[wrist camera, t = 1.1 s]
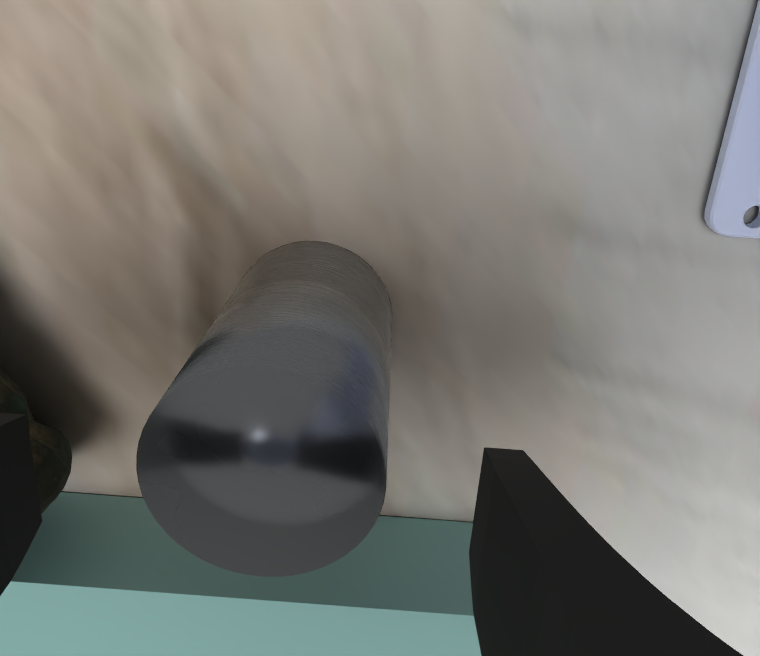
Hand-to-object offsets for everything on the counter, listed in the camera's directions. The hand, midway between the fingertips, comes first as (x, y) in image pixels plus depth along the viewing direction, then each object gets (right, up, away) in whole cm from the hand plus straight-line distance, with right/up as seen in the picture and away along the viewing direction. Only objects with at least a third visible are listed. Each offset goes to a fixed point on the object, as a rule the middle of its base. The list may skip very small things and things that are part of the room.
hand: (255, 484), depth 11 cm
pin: (0, +3, +7) cm, 7 cm away
